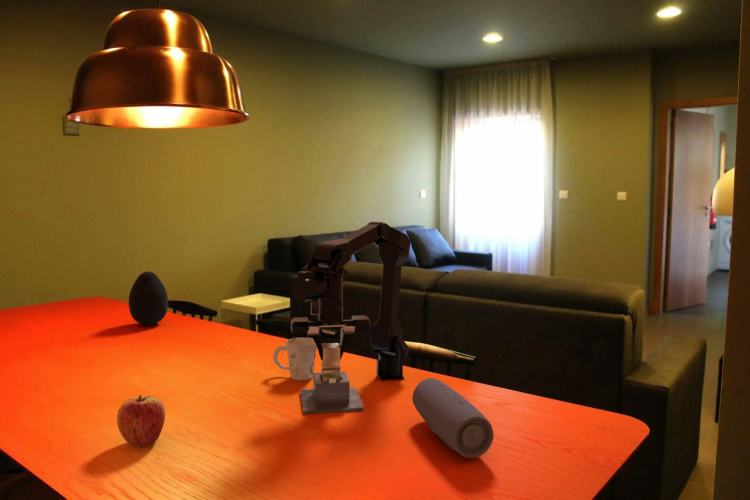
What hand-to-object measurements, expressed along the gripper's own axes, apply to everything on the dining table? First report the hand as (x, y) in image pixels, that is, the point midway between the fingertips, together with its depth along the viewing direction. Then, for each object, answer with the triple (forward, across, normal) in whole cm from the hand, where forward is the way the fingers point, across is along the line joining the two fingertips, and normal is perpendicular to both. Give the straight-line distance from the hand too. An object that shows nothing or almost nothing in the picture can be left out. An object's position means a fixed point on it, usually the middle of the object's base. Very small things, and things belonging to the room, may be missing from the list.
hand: (330, 359), depth 141 cm
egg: (+11, +59, -88) cm, 106 cm away
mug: (+11, +8, -20) cm, 24 cm away
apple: (+11, +40, +17) cm, 45 cm away
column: (+5, 0, 0) cm, 5 cm away
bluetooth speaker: (+11, -22, +25) cm, 35 cm away
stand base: (+10, 0, 0) cm, 10 cm away
